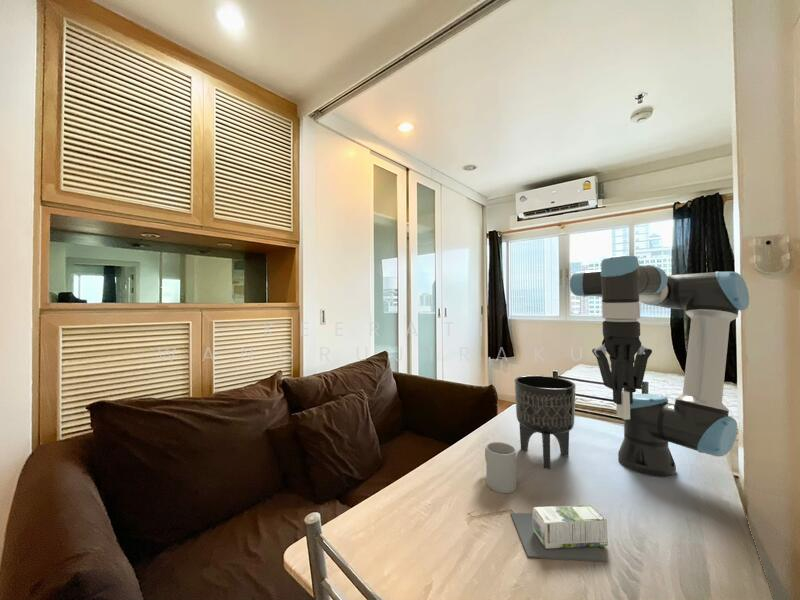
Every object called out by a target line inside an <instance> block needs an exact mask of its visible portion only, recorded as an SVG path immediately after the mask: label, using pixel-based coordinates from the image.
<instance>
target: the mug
mask: <svg viewBox="0 0 800 600" xmlns="http://www.w3.org/2000/svg"><path fill="white" fill-rule="evenodd" d="M516 453H517V452H516V449H515V447H514V446H513V445H510V444H509V443H505V442H501V441H496V442H489V443H487V445H486V446H485V450H484V457H485V462H486V464H485V465H486V466H485V467H486V474H485V477H486V480H485V481H486V485H487V487H488V488H489V489H490V490H493V492H497V493H500V494H510V493H513V492H514V491H515V490H516V489H517V463H516V462H517V455H516Z"/></svg>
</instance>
